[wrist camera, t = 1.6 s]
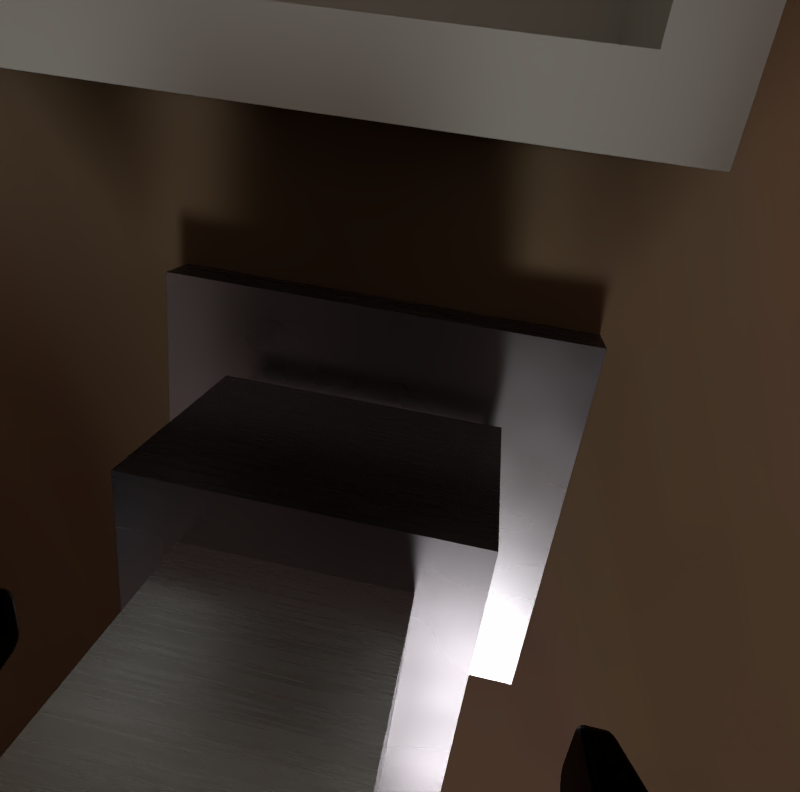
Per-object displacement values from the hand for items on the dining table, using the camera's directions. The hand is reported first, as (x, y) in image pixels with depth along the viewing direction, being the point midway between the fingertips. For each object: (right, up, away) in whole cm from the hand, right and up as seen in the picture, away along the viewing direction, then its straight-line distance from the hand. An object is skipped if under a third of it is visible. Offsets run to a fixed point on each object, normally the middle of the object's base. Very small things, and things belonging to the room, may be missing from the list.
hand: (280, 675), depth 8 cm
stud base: (+1, +2, +5) cm, 5 cm away
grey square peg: (+1, +1, +3) cm, 4 cm away
